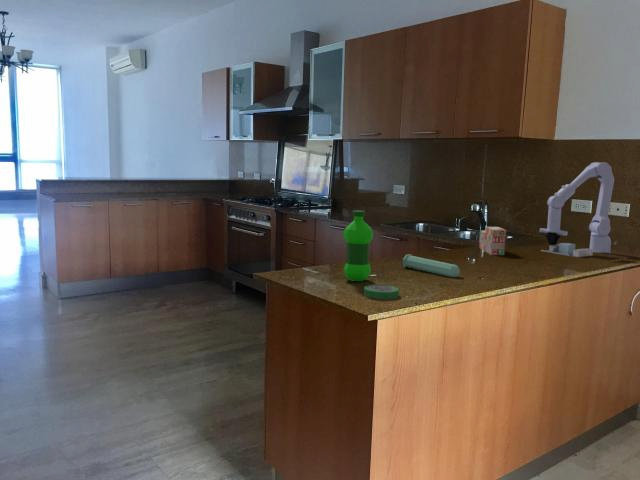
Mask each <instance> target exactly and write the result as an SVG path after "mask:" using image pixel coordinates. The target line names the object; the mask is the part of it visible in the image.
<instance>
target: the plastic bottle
mask: <svg viewBox="0 0 640 480" xmlns="http://www.w3.org/2000/svg"><path fill="white" fill-rule="evenodd" d="M365 216H366V211H365V210H352V217H353V221H352V222H350V223H349V224H348V225H347V226H346V227H345V228H344V229H343V236H342V237H343V240H344V241H345V242H346V263H345V264H344V267H343V274H344V276H345V277H346V278H347V279H348V280H349V281H350V280H354V281H362V280H364V281H365V280H367V279H368V277H369V276H370V275H371V273H372V272H371V271H372V266H371V264H370V263H369V261H370V260H369V257H370V255H369V254H370V243H371V242H372V240H373V237H374V231H373V229H372V228H371V226H369V225H368V223H367V222H365V221H364V217H365Z"/></svg>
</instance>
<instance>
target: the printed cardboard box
mask: <svg viewBox="0 0 640 480" xmlns="http://www.w3.org/2000/svg"><path fill="white" fill-rule="evenodd" d="M506 236H507V229H505V228H502V227H499V226H485V229H484V230H479V242H478V243H479V245H478V248H479V249H480V250H482V251H483V252H485V253H487V254H489V255H490V256H505V250H506V249H505V247H506V238H507V237H506Z"/></svg>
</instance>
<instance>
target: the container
mask: <svg viewBox="0 0 640 480" xmlns="http://www.w3.org/2000/svg"><path fill="white" fill-rule="evenodd" d="M402 265H403V267H404V268H405V267H408V269H412V268H413V270H418V271H421V270H422V272H425V271H426V272H425V273H430V272H431V273H430V274H436V275H440V276H444V277H450V278H457V277H459V274H460V268H459V266H457V264H454V263H453V264H452V263H448V262H442V261H438V260H434V259H429V258H428V259H427V258H423V257H419V256H414V255H413V254H409V253H408V254H405V256H404V257H403V258H402Z"/></svg>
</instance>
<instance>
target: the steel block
mask: <svg viewBox="0 0 640 480" xmlns="http://www.w3.org/2000/svg"><path fill="white" fill-rule="evenodd" d="M558 244H559V253H563V254H573V250H575V249H576V243H570V242H559V243H558Z"/></svg>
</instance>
